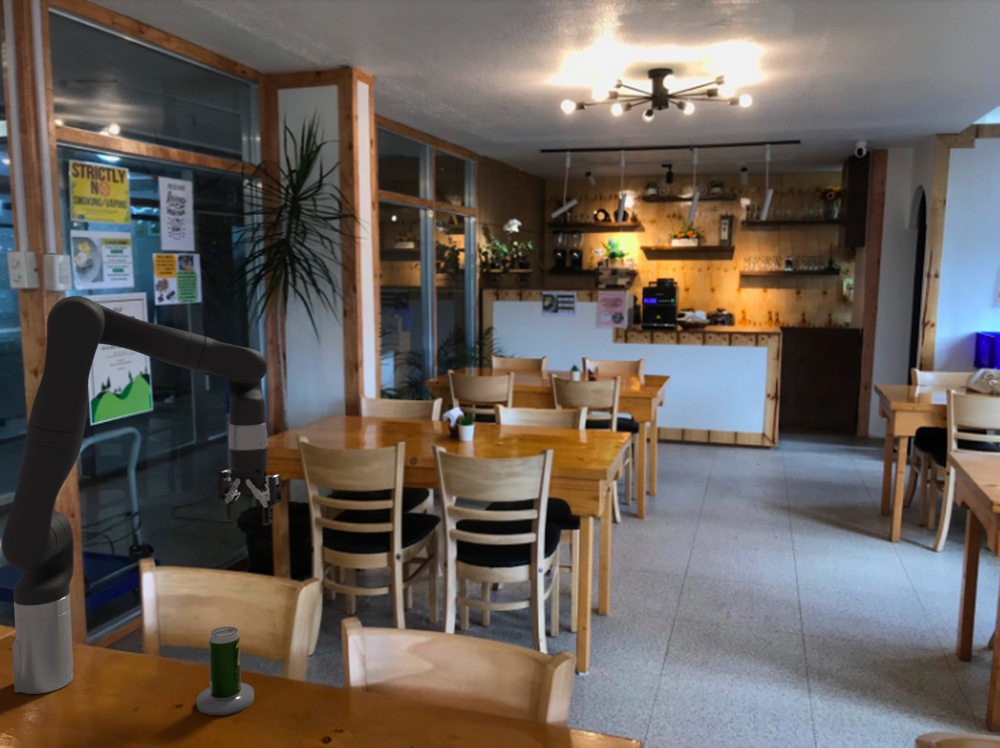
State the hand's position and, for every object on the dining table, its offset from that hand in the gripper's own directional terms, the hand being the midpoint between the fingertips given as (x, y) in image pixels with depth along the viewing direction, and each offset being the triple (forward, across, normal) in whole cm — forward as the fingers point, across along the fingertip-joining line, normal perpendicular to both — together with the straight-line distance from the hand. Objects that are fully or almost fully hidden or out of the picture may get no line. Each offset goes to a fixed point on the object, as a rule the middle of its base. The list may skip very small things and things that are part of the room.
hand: (250, 522), depth 162 cm
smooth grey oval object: (+28, +8, -19) cm, 35 cm away
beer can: (+27, +8, -18) cm, 34 cm away
